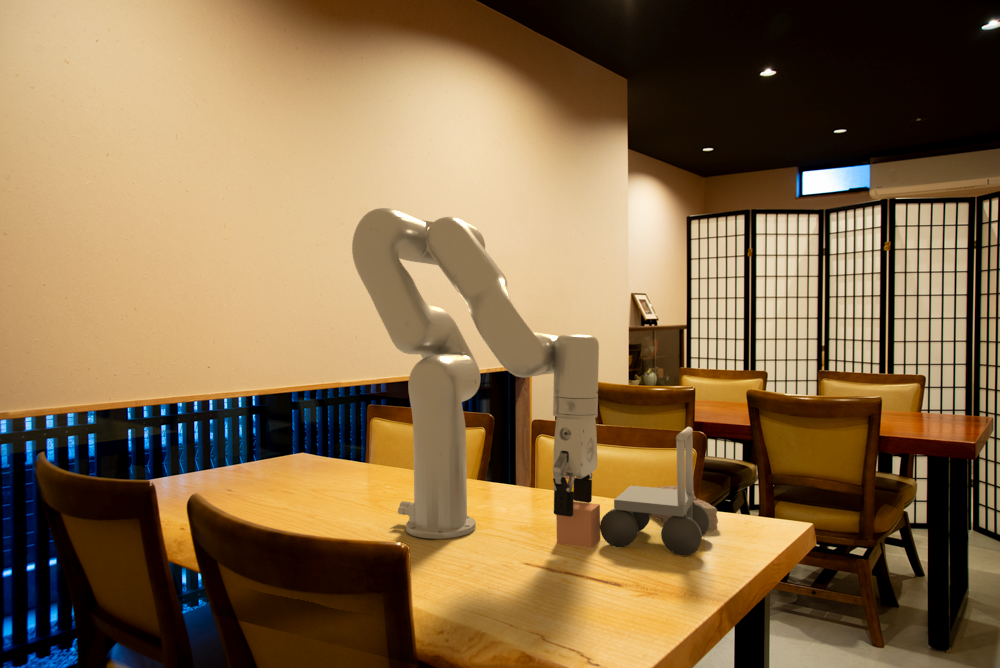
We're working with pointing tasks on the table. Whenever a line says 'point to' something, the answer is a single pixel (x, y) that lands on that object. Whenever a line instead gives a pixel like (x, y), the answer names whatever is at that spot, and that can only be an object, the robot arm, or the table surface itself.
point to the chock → (580, 526)
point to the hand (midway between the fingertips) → (573, 508)
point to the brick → (708, 507)
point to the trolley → (661, 509)
